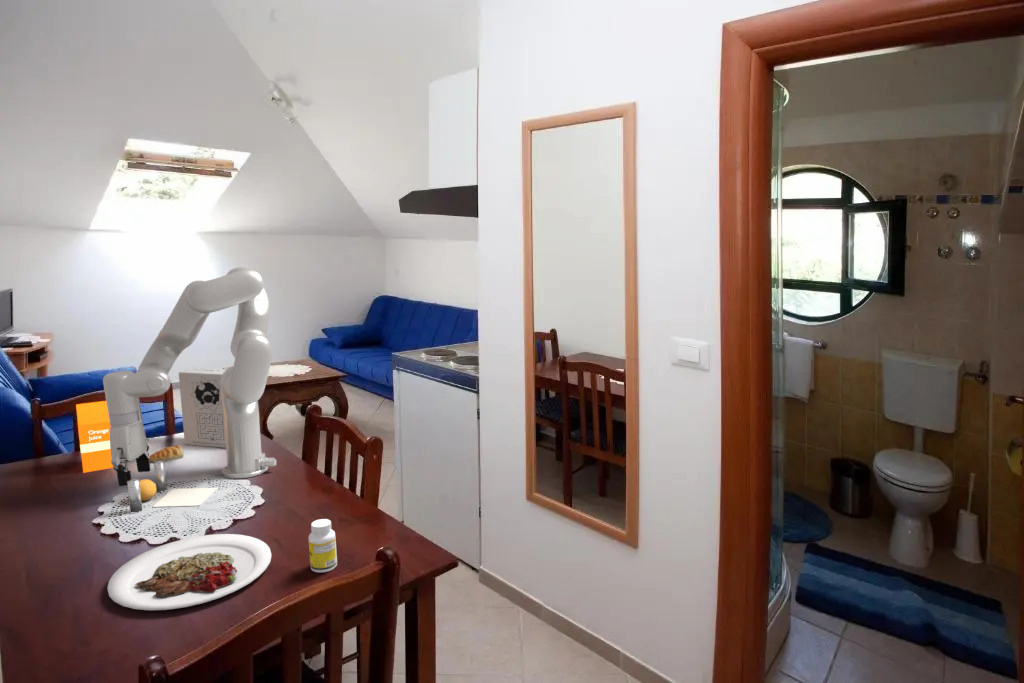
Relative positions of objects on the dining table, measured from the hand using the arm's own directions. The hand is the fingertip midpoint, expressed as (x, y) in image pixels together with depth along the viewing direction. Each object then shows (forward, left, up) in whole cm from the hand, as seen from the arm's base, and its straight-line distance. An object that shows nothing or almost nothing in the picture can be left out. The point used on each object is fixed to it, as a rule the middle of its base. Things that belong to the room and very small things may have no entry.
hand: (135, 478), depth 174 cm
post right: (-6, -1, -4) cm, 7 cm away
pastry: (+4, -28, -5) cm, 29 cm away
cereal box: (-6, -42, -4) cm, 43 cm away
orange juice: (+22, -22, -4) cm, 32 cm away
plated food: (-34, +46, -5) cm, 57 cm away
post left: (-6, +12, -4) cm, 14 cm away
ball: (-5, +5, -1) cm, 7 cm away
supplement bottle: (-60, +45, -4) cm, 75 cm away
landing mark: (-15, +5, -4) cm, 16 cm away
